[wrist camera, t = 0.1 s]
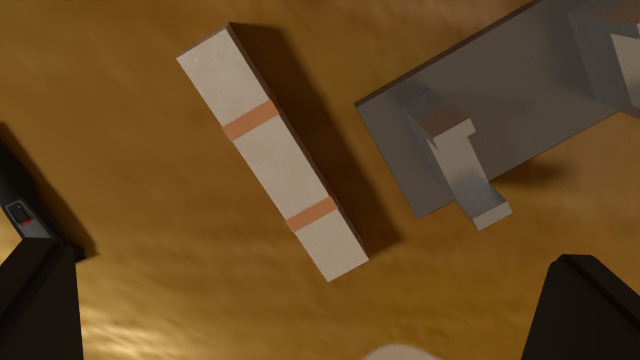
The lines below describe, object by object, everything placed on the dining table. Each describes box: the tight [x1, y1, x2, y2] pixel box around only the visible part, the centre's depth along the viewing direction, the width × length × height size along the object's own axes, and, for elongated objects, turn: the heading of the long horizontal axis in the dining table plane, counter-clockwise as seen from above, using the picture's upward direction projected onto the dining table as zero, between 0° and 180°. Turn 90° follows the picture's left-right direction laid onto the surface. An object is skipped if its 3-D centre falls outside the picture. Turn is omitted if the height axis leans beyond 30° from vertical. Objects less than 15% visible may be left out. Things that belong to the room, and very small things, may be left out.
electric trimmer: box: [0, 143, 86, 263], centre depth 46 cm, size 4×16×3 cm, turn 21°
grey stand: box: [354, 0, 640, 231], centre depth 44 cm, size 13×26×10 cm, turn 119°
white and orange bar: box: [176, 22, 369, 282], centre depth 46 cm, size 24×5×5 cm, turn 29°
